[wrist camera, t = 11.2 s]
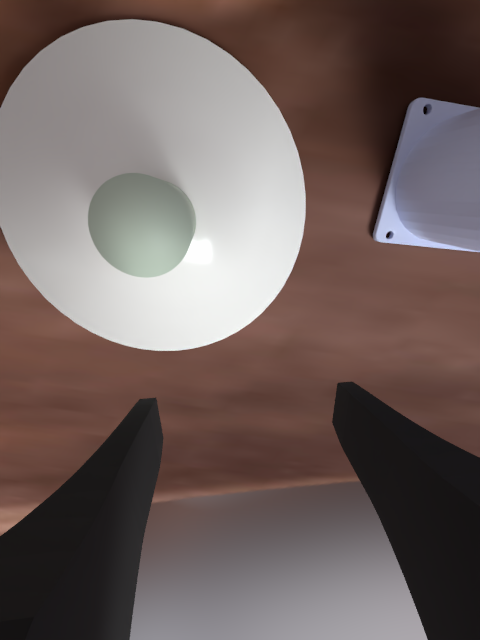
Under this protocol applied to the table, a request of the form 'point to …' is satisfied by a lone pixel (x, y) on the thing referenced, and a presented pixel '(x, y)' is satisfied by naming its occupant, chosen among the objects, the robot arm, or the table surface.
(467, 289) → the table surface
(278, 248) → the white plate
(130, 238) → the green cylinder
